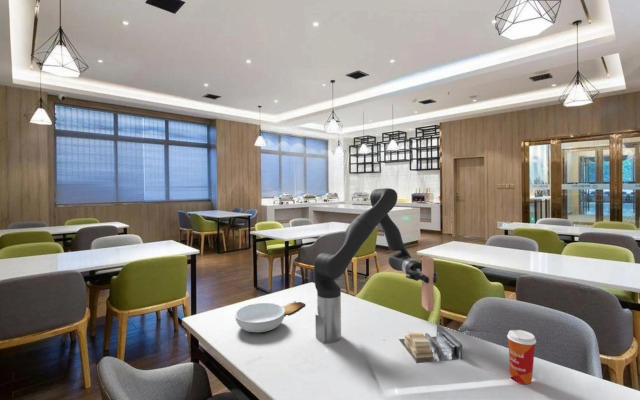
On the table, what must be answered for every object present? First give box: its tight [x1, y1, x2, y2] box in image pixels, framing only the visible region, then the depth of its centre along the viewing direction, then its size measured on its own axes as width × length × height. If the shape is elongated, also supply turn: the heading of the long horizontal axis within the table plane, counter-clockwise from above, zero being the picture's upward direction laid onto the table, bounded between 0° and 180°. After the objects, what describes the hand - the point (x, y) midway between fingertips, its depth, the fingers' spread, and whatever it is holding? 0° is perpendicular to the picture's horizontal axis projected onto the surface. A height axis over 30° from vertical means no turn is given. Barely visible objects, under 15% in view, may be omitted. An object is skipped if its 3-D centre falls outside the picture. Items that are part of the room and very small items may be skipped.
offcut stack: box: [403, 331, 433, 358], centre depth 118 cm, size 11×6×5 cm, turn 7°
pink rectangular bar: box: [421, 255, 435, 312], centre depth 128 cm, size 6×2×20 cm, turn 6°
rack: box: [398, 323, 464, 364], centre depth 119 cm, size 17×16×6 cm
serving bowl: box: [234, 302, 285, 333], centre depth 141 cm, size 21×21×7 cm
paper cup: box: [506, 329, 537, 385], centre depth 101 cm, size 8×8×14 cm
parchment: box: [282, 300, 306, 317], centre depth 160 cm, size 25×10×1 cm, turn 146°
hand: (431, 280), depth 124 cm, fingers closed on pink rectangular bar, 2 cm apart
